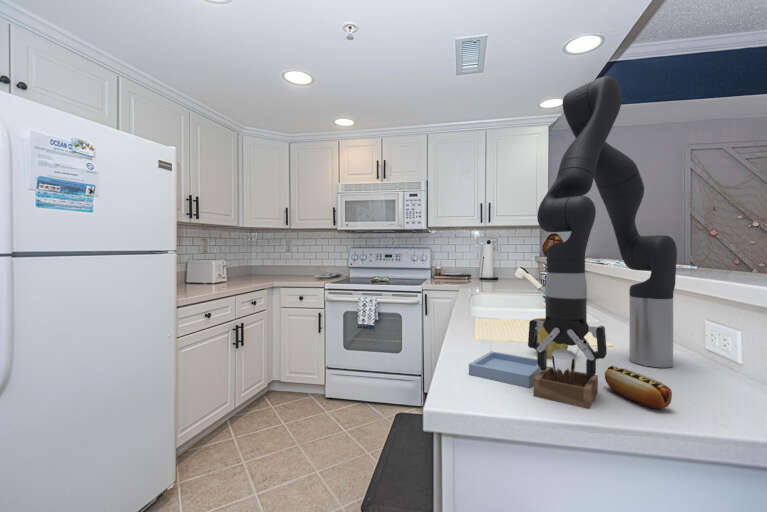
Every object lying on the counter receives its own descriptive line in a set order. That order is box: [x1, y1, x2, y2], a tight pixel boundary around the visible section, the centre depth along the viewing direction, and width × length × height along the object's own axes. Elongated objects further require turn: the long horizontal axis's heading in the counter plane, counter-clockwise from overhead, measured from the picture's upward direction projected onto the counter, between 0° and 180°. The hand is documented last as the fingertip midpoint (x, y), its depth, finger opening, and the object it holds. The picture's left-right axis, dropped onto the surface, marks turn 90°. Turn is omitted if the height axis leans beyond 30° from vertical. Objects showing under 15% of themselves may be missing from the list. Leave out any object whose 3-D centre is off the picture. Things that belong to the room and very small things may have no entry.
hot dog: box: [604, 365, 673, 409], centre depth 71 cm, size 5×13×5 cm, turn 10°
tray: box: [468, 351, 542, 388], centre depth 88 cm, size 14×14×2 cm
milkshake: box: [551, 347, 580, 385], centre depth 74 cm, size 4×5×10 cm
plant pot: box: [535, 317, 569, 359], centre depth 102 cm, size 10×10×10 cm
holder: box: [533, 366, 599, 410], centre depth 74 cm, size 10×10×4 cm
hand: (565, 373), depth 74 cm, fingers open, 8 cm apart
